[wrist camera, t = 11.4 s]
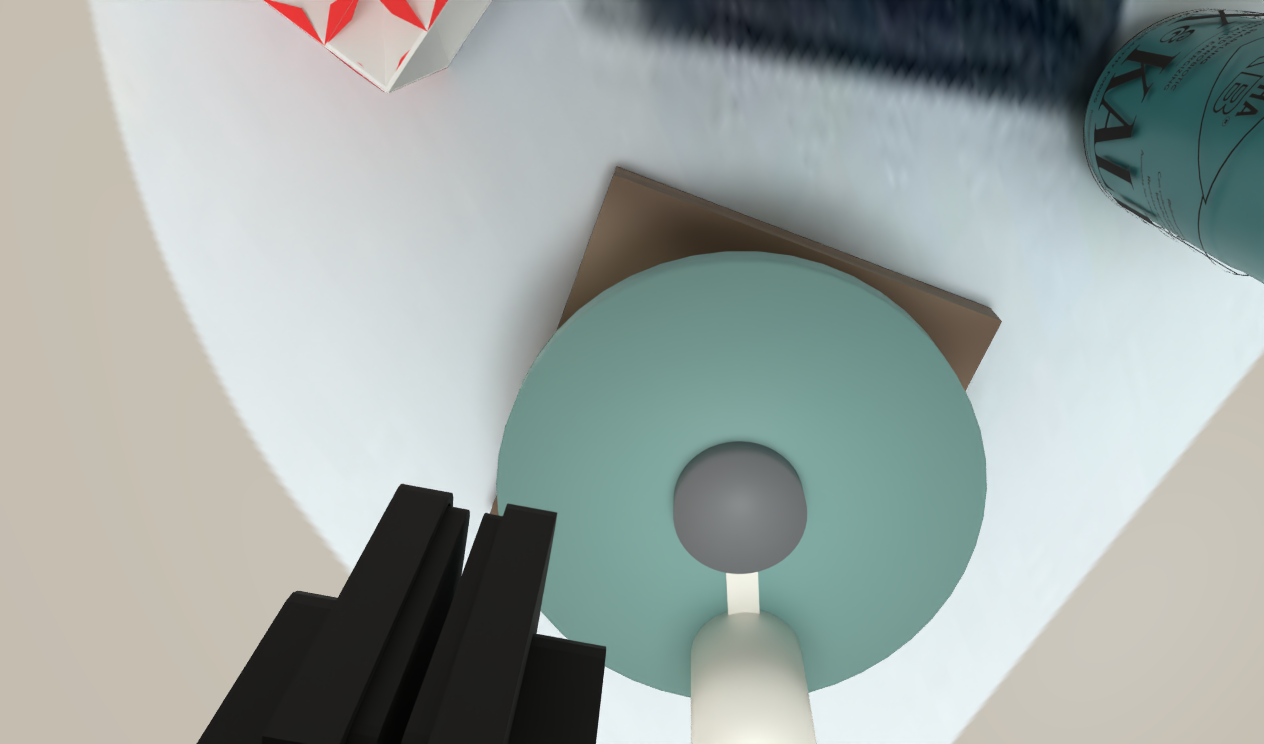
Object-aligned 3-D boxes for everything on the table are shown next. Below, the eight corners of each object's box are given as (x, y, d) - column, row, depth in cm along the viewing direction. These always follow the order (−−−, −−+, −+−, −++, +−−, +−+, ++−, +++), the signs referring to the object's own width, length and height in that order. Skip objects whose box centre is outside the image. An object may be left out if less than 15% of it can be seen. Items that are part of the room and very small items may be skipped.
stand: (616, 166, 37) (605, 197, 32) (989, 307, 38) (1034, 358, 33) (492, 506, 42) (467, 578, 37) (827, 622, 43) (845, 707, 38)
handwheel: (671, 740, 38) (668, 886, 32) (410, 416, 34) (351, 514, 28) (1057, 539, 35) (1136, 661, 29) (817, 151, 31) (850, 198, 25)
